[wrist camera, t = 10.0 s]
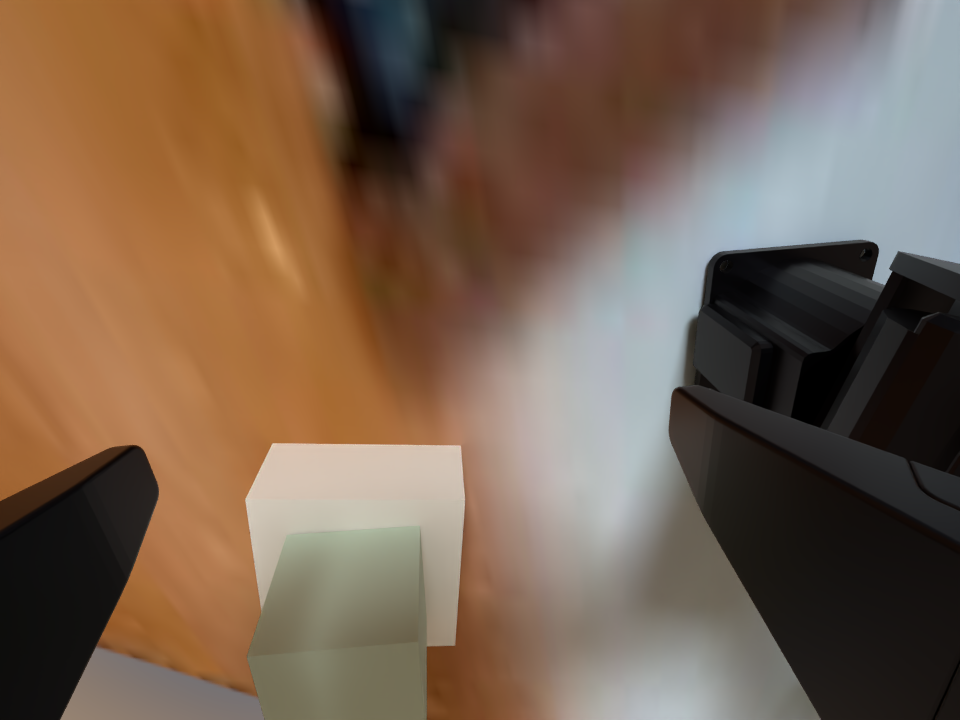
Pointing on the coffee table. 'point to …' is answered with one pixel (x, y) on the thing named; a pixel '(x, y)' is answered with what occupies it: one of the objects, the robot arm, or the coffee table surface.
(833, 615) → the robot arm
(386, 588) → the green cube
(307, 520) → the base block
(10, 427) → the coffee table surface
